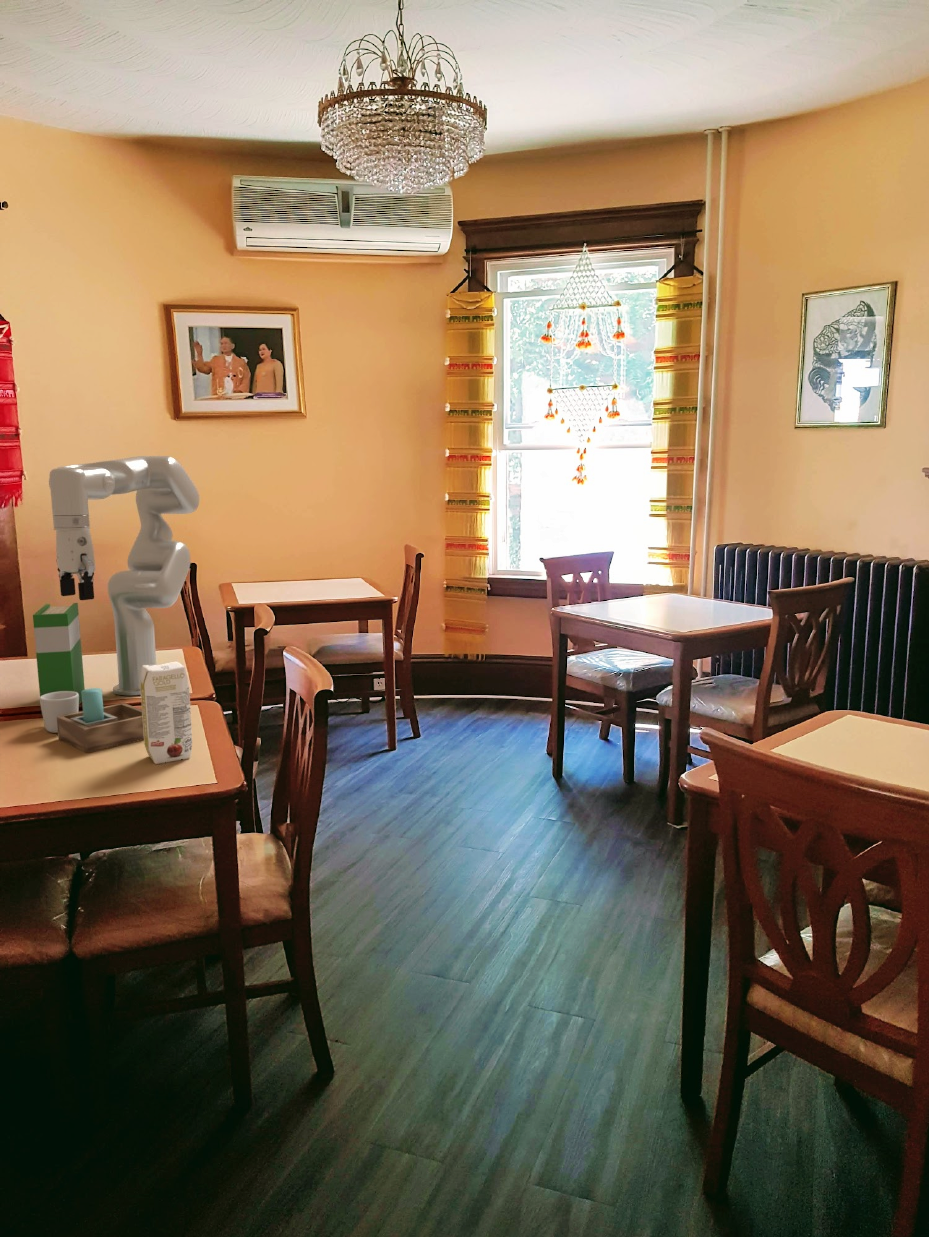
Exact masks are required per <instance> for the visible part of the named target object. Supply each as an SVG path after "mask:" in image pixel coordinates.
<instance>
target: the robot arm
mask: <svg viewBox="0 0 929 1237" xmlns="http://www.w3.org/2000/svg"><path fill="white" fill-rule="evenodd" d="M48 486H49V489H50V499H51V510H52V513H51V514H52V523H53V530H54V531H55V532H56V534H55V538H56V539H55V542H56V544H55V545H56V546H55V549H56V560H55V561H56V564H57V571H58V579H59V586H60V587H59V588H60V589H59V591H60V595H61V597H69V596H76V593H77V592H76V582H75V577H74V574H75V575H76V576H77V578H78V581H79V582H78V583H77V588H78V589H77V590H78V598H79V601H90V600H94V599H95V589H94V578H95V577H94V576H95V571H96V560H95V553H94V552H95V551H94V546H93V545H94V544H93V540H92V535H91V531H90V530H91V529H90V528H91V525H90V515H89V514H90V513H89V501H88V500H94V501H95V500H104V499H106V498H108V497H110V496H112V495H113V496H114V495H125V494H129V493H133V492H136V493H135V504H136V508H137V513H138V516H139V521H140V529H139V532H138V533H137V536H136V538H135V541H134V543H133V545H132V547H131V549H130V551H129V554H128V557H127V567H128V570H122V571H117V572H116V573H114V574H112V575H111V577H110V578H109V579H108V582H107V593H108V598H109V601H110V605H111V609H112V614H113V615H112V616H113V622H114V633H115V634H114V636H115V648H116V662H117V664H116V665H117V675H118V684H116V685H114V686H113V688H112V693H114V694H115V695H120V696H141V689H140V676H141V668H142V666H143V665H157V658H156V655H157V654H156V653H157V652H156V641H155V640H156V639H155V625H154V621H153V618H152V616H151V614H150V613H149V612H148V611H147V609H148V608H149V609H152V608H153V609H167V608H170V607H172V606H173V605H174V604H176V602H177V601H178V598H179V596H180V595H181V594H180V593H181V591H182V589H183V587H184V584H185V582H186V578H187V576H188V573H189V570H190V567H191V552H190V549H189V548H188V546H187V545H186V544H185V543H183V542H181V541H178V540H173V537H174V535H173V531H172V529H171V527H170V524H168V522H167V521H166V520H165V519H164V517H163V515H165V514H166V515H167V514H169V515H171V514H172V515H176V514H177V515H180V514H181V515H188V514H193V513H194V512H196V510H197V509H198V507H199V506H200V495H199V490H198V488H197V487H196V485H195V483H194V482H193V480H192V479H191V477H190V476H189V474H188V472H187V471H186V470H185V468H184V467H183V466H182V464H180V463H179V461H178V460H177V459H175V458H173V457H172V456H167V455H157V456H155V455H151V456H148V455H144V456H143V455H141V456H132V457H127V458H119V459H112V460H104V461H103V460H101V461H98V462H97V461H95V462H91V463H90V462H89V463H79V464H71V465H63V466H60V467H56V468H53V469H51V470H50V471H49V478H48Z"/></svg>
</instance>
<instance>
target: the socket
mask: <svg viewBox="0 0 929 1237" xmlns="http://www.w3.org/2000/svg"><path fill="white" fill-rule="evenodd" d="M71 720H72V721H74V722H77V723H79V724H81V725H83V726H86V727H93V726H97V725H102V724H107V723H111V722H116V721H118V718H117V717H115V716H112V715H110V714H107V713H105V712H104V719H103V720H99V721H94V722H89V723H86V722H84V718H83V716H79V717H74V718H71Z"/></svg>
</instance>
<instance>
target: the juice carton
mask: <svg viewBox="0 0 929 1237" xmlns="http://www.w3.org/2000/svg"><path fill="white" fill-rule="evenodd" d="M140 689H141V695H140V700H141V710H142V718H143V732H144V739H143V743H144V747H145V750H146V752H147V755H148V757H149V758H150V759H151V761H152V762H153V763H154V764H156V765H160V764H164V763H165V762H166V763H170V762H175V761H181V759H183V760H186V759H190V758H191V754H192V748H193V732H192V731H193V730H192V728H193V726H192V716H191V714H192V711H191V698H190V696H191V694H190V680H189V676H188V672H187V669H186V667H185V665H183V664H181V663H180V662H179V661H172V662H166V663H162V664H156V665H143V666H142V668H141V676H140Z"/></svg>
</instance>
